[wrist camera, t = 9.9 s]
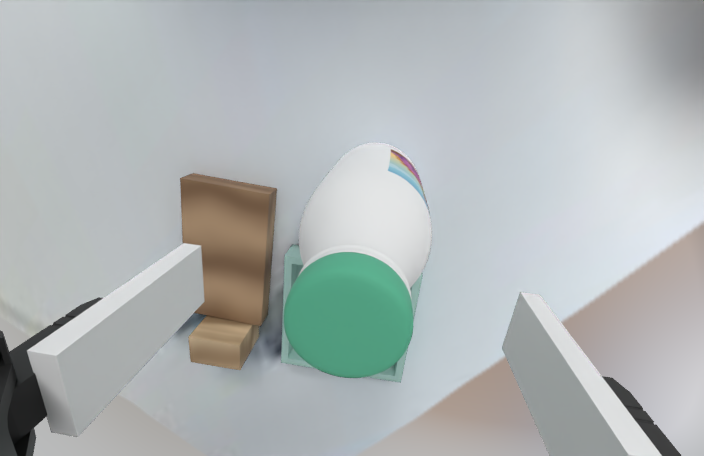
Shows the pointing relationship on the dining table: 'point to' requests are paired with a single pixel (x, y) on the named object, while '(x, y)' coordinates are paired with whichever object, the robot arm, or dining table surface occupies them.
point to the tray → (288, 354)
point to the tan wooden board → (231, 244)
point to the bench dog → (222, 342)
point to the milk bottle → (359, 264)
